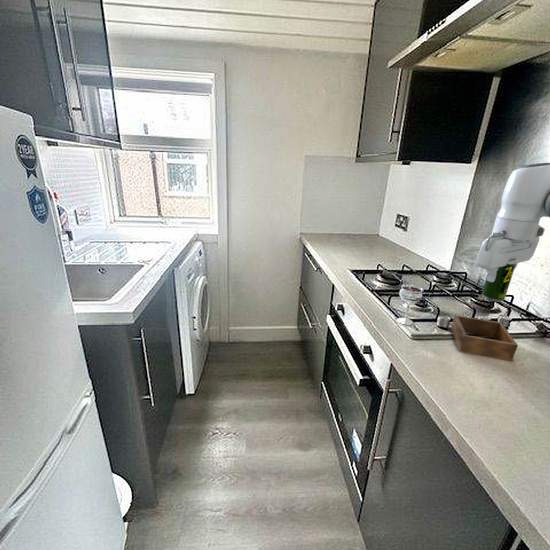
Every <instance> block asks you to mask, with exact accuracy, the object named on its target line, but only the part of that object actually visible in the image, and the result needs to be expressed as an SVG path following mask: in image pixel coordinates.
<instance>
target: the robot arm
mask: <svg viewBox="0 0 550 550" xmlns="http://www.w3.org/2000/svg"><path fill="white" fill-rule="evenodd" d="M500 200H501V201H500V202H501V205H500V209H499V211H498V212H497V214H496V216H495V221H494V223H493V227H492V230H491V234H490V235H489V236H488V237H487V238H485V239H484V241H483V242H482V244H481V246H480V248H479V251H478V254H477V255H476V256H477V257H476V260H475V265H476V267H478V268H481V269H485V270H486V273H487V274H488V276H487V275H486V277H487V281H489V282H495V281H497V278H498V276H497V271H498V269H499V267H503V266H506V265H507V264H508V262H509V260H512V259H513V260H515V259H516V266H515V269H516V268H518V264H519V263H524V262H528V261H530V260H531V259H532V258H533V256H534V255H535V252H536V250H537V247H538V245H539V242H540V237H542V236H544V233H545V230H546V229H545V227H544V226H541V225H540V221H541V219H542V218H550V162H538V163H531V164H524V165H521V166H518V167H517V168H515V169H514V170H512V172H511V173H510V175H509V177H508V179H507V180H506V184H505V186H504V189H503V192H502V195H501V199H500Z"/></svg>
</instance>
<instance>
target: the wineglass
mask: <svg viewBox="0 0 550 550" xmlns="http://www.w3.org/2000/svg"><path fill="white" fill-rule="evenodd" d="M423 292H424V288H423V287H421V286H419V285H417V284H412V283H403V284H401V285H400V289H399V292H398V295H399V298H400V299H401V300H402V301H403V302H404V303H406V308H405V316H404V317H398V318H397V319H396V322H398V323H399V324H400V325H404V326H411V325H413V324H414V322H413V320H411V319H410V318H408V314H409V309H410V306H411V305H413V304H417V303H418V302H420V301H421V300H422V299H423Z"/></svg>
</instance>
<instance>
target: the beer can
mask: <svg viewBox="0 0 550 550" xmlns="http://www.w3.org/2000/svg"><path fill="white" fill-rule="evenodd" d="M515 266H516V259H515V260H513V259H512V260H509V262H508V264H507V265H506V266H503V267H499V269H498V271H497V276H498V278H497V281H495V282H489V281H487V276H488V273H487V275H486V277H485V282H484V284H483V288H482V291H481V296H482V298H484V299H485V300H489V301H491V302H497V303H501V302H502V301H504V300H505V299H506V297H507V293H508V291H509V290H508V289H509V287H510V284H511V282H512V278H513V276H514V275H513V274H514V271H515V270H516V268H515Z"/></svg>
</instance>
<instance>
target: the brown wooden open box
mask: <svg viewBox="0 0 550 550" xmlns="http://www.w3.org/2000/svg"><path fill="white" fill-rule="evenodd" d="M450 330H451V332H452V336H453V338H454V340H455V343H456V345H457V348H458V350H459V351H458V352H463V353H468V354H473V355H479V356H485V357H489V358H495V359H499V360H505V361H510V362H512V361H513V360H514V357H515V355H516V352H517V349H518V344H517V342H516V341H515V339H514V338H513V336H512V335H511V334H510V332H509V331H508V330H507V328H506V327H505V325H504V323H502V321H501V322H500V321H495V320H488V319H483V318H482V319H481V318H477V317H470V316H463V315H457V314H454V317H453V319H452V323H451V326H450ZM468 334H472V335H468ZM474 335H477V336H474ZM478 335H479V336H485V337H486V338H485V337H479V336H478ZM487 337H490V338H487ZM491 338H494V339H491Z"/></svg>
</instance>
